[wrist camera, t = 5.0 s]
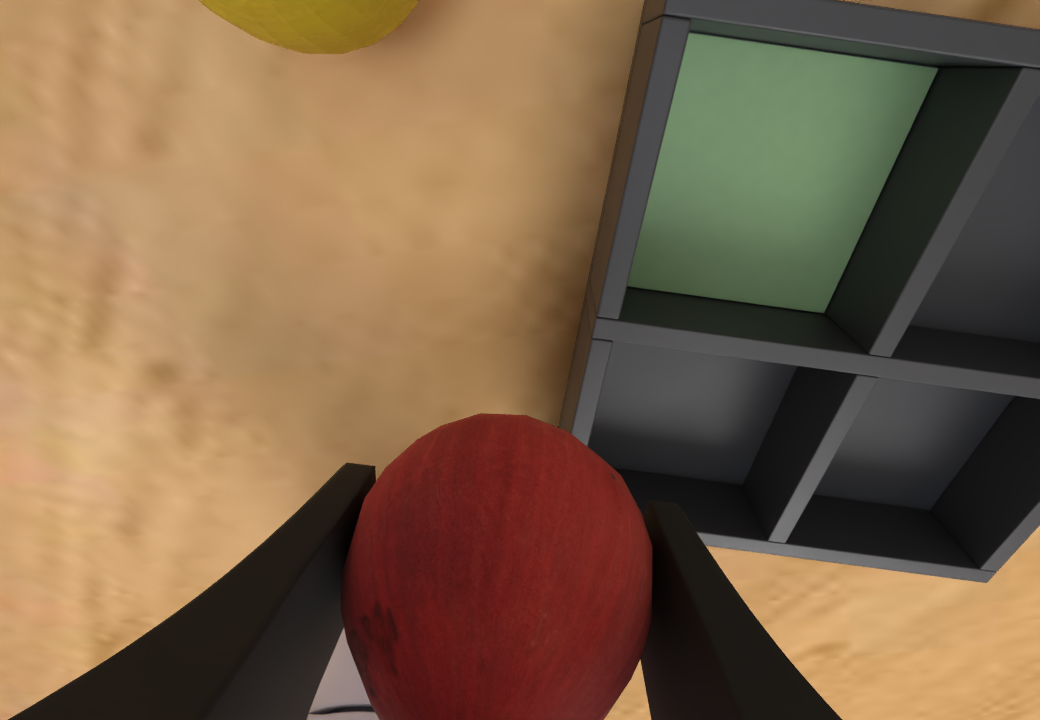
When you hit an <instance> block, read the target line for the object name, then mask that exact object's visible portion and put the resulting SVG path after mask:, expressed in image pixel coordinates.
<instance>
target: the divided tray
mask: <svg viewBox="0 0 1040 720" xmlns="http://www.w3.org/2000/svg"><path fill="white" fill-rule="evenodd" d="M558 428H560V429H563V430H565V431H568V432H570V433H571V434H572V435H574V436H575V437H576V438H577V439H579V440H580V441H581V442H582V443H584V444H585V445H586V446H587V447H589V448H590V449H591V450H592V451H594V452H595V453H596V454H597V455H599V456H600V457H601V458H602V459H603V460H604V461H606V462H607V463H608V464H609V465H610V466H611V467H612V468H613V469H615V470H616V471H617V472H618V473H619V474H620V475H621V476H622V478H623V480H624V482H625V484H626V485H627V487H628V489H629V491H630V493H631V495H632V496H633V498H634V500H635V502H636V504H637V506H638V507H639V509H640V511H641V513H642V516H643V518H644V515H645V512H646V509H647V506H648V503H649V500H653V501H661V502H669V503H677V504H678V505H679V506H680V507H681V509H682V510H683V512H684V513H685V515H686V516H687V518H688V520H689V521H690V523H691V524H692V526H693V527H694V529H695V530H696V532H697V534H698V535H699V537H700V538H701V540H702V541H703V543H704V544H705V546H712V547H720V548H727V549H735V550H742V551H750V552H757V553H765V554H772V555H780V556H787V557H795V558H802V559H810V560H817V561H825V562H832V563H840V564H847V565H855V566H863V567H870V568H878V569H885V570H893V571H900V572H908V573H915V574H923V575H930V576H938V577H945V578H953V579H960V580H968V581H975V582H983V583H987V582H988V581H989V580H990V579H991V578H992V577H993V576H994V574H995V573H996V571H998V570H999V569H1000V568H1001V567H1002V566H1003V565H1004V564H1005V563H1006V561H1007V560H1008V559H1009V558H1010V557H1011V556H1012V555H1013V554H1014V553H1015V552H1016V551H1017V549H1018V548H1019V547H1020V546H1021V545H1022V544H1023V543H1024V542H1025V541H1026V540H1027V539H1028V537H1029V536H1030V535H1031V534H1032V533H1033V532H1034V531H1035V530H1036V529H1037V528H1038V527H1039V525H1040V29H1033V28H1026V27H1019V26H1012V25H1005V24H998V23H991V22H985V21H978V20H971V19H964V18H957V17H950V16H943V15H936V14H929V13H922V12H915V11H909V10H902V9H895V8H888V7H881V6H874V5H867V4H860V3H853V2H846V1H840V0H645V2H644V7H643V12H642V17H641V22H640V27H639V32H638V37H637V41H636V46H635V51H634V56H633V61H632V66H631V71H630V76H629V81H628V86H627V91H626V96H625V101H624V106H623V111H622V116H621V121H620V125H619V130H618V135H617V140H616V145H615V150H614V155H613V160H612V165H611V170H610V175H609V180H608V185H607V190H606V195H605V200H604V204H603V209H602V214H601V219H600V224H599V229H598V234H597V239H596V244H595V249H594V254H593V259H592V264H591V269H590V274H589V279H588V283H587V288H586V293H585V298H584V303H583V308H582V313H581V318H580V323H579V328H578V333H577V338H576V343H575V348H574V353H573V358H572V362H571V367H570V372H569V377H568V382H567V387H566V392H565V397H564V402H563V407H562V412H561V417H560V422H559V427H558Z"/></svg>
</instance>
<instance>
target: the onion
mask: <svg viewBox="0 0 1040 720" xmlns="http://www.w3.org/2000/svg"><path fill="white" fill-rule="evenodd" d="M652 548H653V547H652V544H651V540H650V537H649V534H648V531H647V528H646V525H645V522H644V519H643V516H642V513H641V511H640V509H639V507H638V506H637V504H636V502H635V500H634V498H633V496H632V495H631V493H630V491H629V489H628V487H627V485H626V484H625V482H624V480H623V478H622V476H621V475H620V474H619V473H618V472H617V471H616V470H615V469H613V468H612V467H611V466H610V465H609V464H608V463H607V462H606V461H604V460H603V459H602V458H601V457H600V456H599V455H597V454H596V453H595V452H594V451H592V450H591V449H590V448H589V447H587V446H586V445H585V444H584V443H582V442H581V441H580V440H579V439H577V438H576V437H575V436H574V435H572V434H571V433H570V432H568V431H565V430H563V429H560V428H558V427H555V426H552V425H550V424H547V423H545V422H542V421H539V420H537V419H534V418H532V417H529V416H527V415H506V414H481V413H480V414H477V415H474V416H471V417H467V418H464V419H461V420H458V421H455V422H451V423H448V424H445V425H442V426H440V427H438V428H436V429H435V430H433V431H431V432H429V433H428V434H426V435H424V436H422V437H421V438H419V439H417V440H416V441H415V442H414V443H413V444H412V445H411V446H409V447H408V448H407V449H406V450H405V451H404V452H403V453H402V454H400V455H399V456H398V457H397V458H396V459H395V460H394V461H393V462H391V463H390V464H389V465H388V466H387V467H386V468H385V469H384V471H383V472H382V474H381V475H380V477H379V478H378V479H377V481H376V482H375V484H374V485H373V487H372V488H371V490H370V491H369V492H368V494H367V495H366V497H365V498H364V501H363V505H362V508H361V511H360V514H359V517H358V520H357V523H356V526H355V530H354V533H353V536H352V540H351V543H350V547H349V550H348V554H347V557H346V561H345V564H344V568H343V571H342V579H341V614H342V620H343V625H344V630H345V635H346V640H347V644H348V646H349V649H350V652H351V654H352V657H353V660H354V662H355V665H356V667H357V670H358V673H359V675H360V678H361V680H362V683H363V686H364V688H365V691H366V694H367V696H368V699H369V701H370V704H371V706H372V708H373V709H374V711H375V713H376V715H377V716H378V718H379V720H604V719H605V717H606V716H607V714H608V713H609V711H610V710H611V708H612V707H613V705H614V704H615V702H616V701H617V699H618V698H619V696H620V695H621V693H622V692H623V690H624V689H625V687H626V686H627V684H628V683H629V681H630V680H631V678H632V676H633V673H634V671H635V669H636V667H637V665H638V663H639V660H640V658H641V656H642V654H643V652H644V648H645V644H646V640H647V636H648V633H649V629H650V625H651V621H652Z"/></svg>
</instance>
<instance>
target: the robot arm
mask: <svg viewBox="0 0 1040 720" xmlns="http://www.w3.org/2000/svg"><path fill="white" fill-rule="evenodd" d="M375 482H376V474H375V466H369V465H361V464H353V463H346V464H345V465H343V466H342V467H341V468H340V469H339V470H338V471H337V472H336V473H335V474H334V475H333V476H332V477H331V478H330V479H329V480H328V481H327V482H326V483H325V484H324V485H323V486H322V487H321V488H320V489H319V490H318V491H317V492H316V493H315V494H314V495H313V496H312V497H311V498H310V499H309V500H308V501H307V502H306V503H305V504H304V505H303V506H302V507H301V508H300V509H299V510H298V511H297V512H296V513H295V514H294V515H292V516H291V517H290V518H289V519H288V520H287V521H286V522H285V523H284V524H283V525H282V526H281V527H280V528H278V529H277V530H276V531H275V532H274V533H273V534H272V535H271V536H270V537H269V538H268V539H266V540H265V541H264V542H263V543H262V544H261V545H260V546H258V547H257V548H256V549H255V550H254V551H253V552H251V553H250V554H249V555H248V556H247V557H246V558H244V559H243V560H242V561H241V562H240V563H238V564H237V565H236V566H235V567H234V568H233V569H231V570H230V571H229V572H228V573H227V574H225V575H224V576H223V577H222V578H220V579H219V580H218V581H217V582H215V583H214V584H213V585H212V586H210V587H209V588H208V589H206V590H205V591H204V592H203V593H201V594H200V595H199V596H197V597H196V598H195V599H193V600H192V601H191V602H189V603H188V604H187V605H185V606H184V607H183V608H181V609H180V610H179V611H177V612H176V613H175V614H173V615H172V616H170V617H169V618H168V619H166V620H165V621H163V622H162V623H160V624H159V625H157V626H156V627H155V628H153V629H152V630H150V631H149V632H147V633H146V634H144V635H143V636H142V637H140V638H139V639H137V640H136V641H134V642H133V643H131V644H130V645H129V646H127V647H126V648H124V649H123V650H121V651H119V652H118V653H116V654H115V655H113V656H112V657H110V658H109V659H107V660H106V661H104V662H103V663H101V664H100V665H98V666H96V667H95V668H93V669H91V670H90V671H88V672H86V673H85V674H83V675H82V676H80V677H78V678H77V679H75V680H73V681H72V682H70V683H68V684H67V685H65V686H64V687H62V688H60V689H59V690H57V691H55V692H54V693H52V694H50V695H49V696H47V697H45V698H44V699H42V700H41V701H39V702H37V703H36V704H34V705H32V706H31V707H29V708H27V709H26V710H24V711H22V712H20V713H19V714H17V715H15V716H13V717H12V718H10V719H8V720H379V718H378V716H377V715H376V713H375V711H374V709H373V708H372V706H371V704H370V701H369V699H368V696H367V694H366V691H365V688H364V686H363V683H362V680H361V678H360V675H359V673H358V670H357V667H356V665H355V662H354V660H353V657H352V654H351V652H350V649H349V646H348V644H347V640H346V635H345V630H344V625H343V620H342V614H341V579H342V571H343V568H344V564H345V561H346V557H347V554H348V550H349V547H350V543H351V540H352V536H353V533H354V530H355V526H356V523H357V520H358V517H359V514H360V511H361V508H362V505H363V501H364V498H365V497H366V495H367V494H368V492H369V491H370V490H371V488H372V487H373V485H374V484H375ZM643 519H644V522H645V525H646V528H647V531H648V534H649V537H650V540H651V544H652V547H653V548H652V621H651V625H650V629H649V633H648V636H647V640H646V644H645V648H644V652H643V654H642V656H641V658H640V659H641V665H642V670H643V676H644V681H645V686H646V692H647V697H648V703H649V708H650V714H651V719H652V720H842V719H841V718H840V717H839V716H838V715H837V714H836V712H835V711H834V710H833V709H832V708H831V707H830V706H829V705H828V704H827V703H826V702H825V701H824V699H823V698H822V697H821V696H820V695H819V694H818V693H817V691H816V690H815V689H814V688H813V687H812V686H811V685H810V683H809V682H808V681H807V680H806V679H805V678H804V677H803V676H802V674H801V673H800V672H799V671H798V670H797V669H796V667H795V666H794V665H793V664H792V663H791V661H790V660H789V659H788V658H787V657H786V655H785V654H784V653H783V652H782V650H781V649H780V648H779V647H778V645H777V644H776V643H775V642H774V640H773V639H772V638H771V637H770V635H769V634H768V633H767V631H766V630H765V629H764V628H763V626H762V625H761V624H760V622H759V621H758V620H757V618H756V617H755V616H754V614H753V613H752V612H751V610H750V609H749V608H748V606H747V605H746V604H745V602H744V601H743V599H742V598H741V597H740V595H739V594H738V592H737V591H736V590H735V588H734V587H733V585H732V584H731V583H730V581H729V580H728V578H727V577H726V576H725V574H724V573H723V571H722V570H721V568H720V567H719V565H718V564H717V562H716V561H715V559H714V558H713V556H712V555H711V553H710V552H709V550H708V549H707V547H706V546H705V544H704V543H703V541H702V540H701V538H700V537H699V535H698V534H697V532H696V530H695V529H694V527H693V526H692V524H691V523H690V521H689V520H688V518H687V516H686V515H685V513H684V512H683V510H682V509H681V507H680V506H679V505H678V504H677V503H669V502H661V501H653V500H649V503H648V506H647V509H646V512H645V515H644V518H643Z"/></svg>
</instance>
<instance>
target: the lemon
mask: <svg viewBox="0 0 1040 720" xmlns="http://www.w3.org/2000/svg"><path fill="white" fill-rule="evenodd" d="M199 1H200V2H201V3H202V4H203V5H205V6H206V7H207V8H208V9H209V10H211V11H212V12H214V13H215V14H217V15H218V16H220V17H221V18H223V19H225V20H226V21H228V22H230V23H231V24H233V25H235V26H237V27H238V28H240V29H242V30H243V31H245V32H247V33H248V34H250V35H252V36H254V37H256V38H258V39H260V40H262V41H265V42H268V43H271V44H274V45H277V46H281V47H284V48H287V49H291V50H294V51H298V52H302V53H308V54H343V53H347V52H350V51H353V50H356V49H360V48H363V47H366V46H369V45H372V44H375V43H376V42H377V41H379V40H380V39H382V38H383V37H384V36H386V35H387V34H389V33H390V32H392V31H393V30H394V29H396V28H397V27H399V26H400V24H401V23H402V22H403V21H404V19H405V18H406V17H407V16H408V14H409V13H410V12H411V11H412V9H413V8H414V7H415V6H416V4H417V3H418V1H419V0H199Z"/></svg>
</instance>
